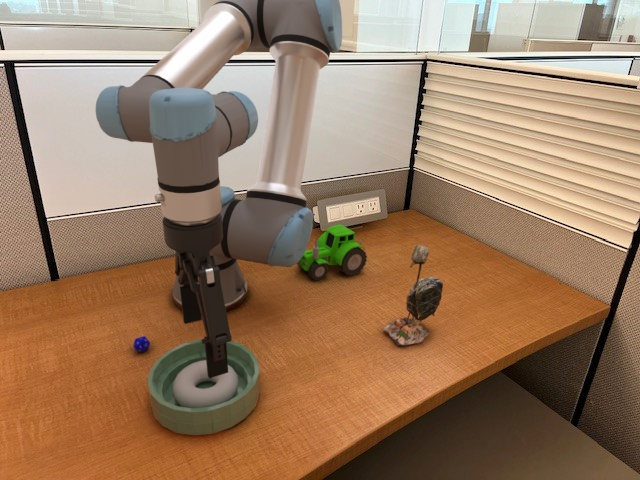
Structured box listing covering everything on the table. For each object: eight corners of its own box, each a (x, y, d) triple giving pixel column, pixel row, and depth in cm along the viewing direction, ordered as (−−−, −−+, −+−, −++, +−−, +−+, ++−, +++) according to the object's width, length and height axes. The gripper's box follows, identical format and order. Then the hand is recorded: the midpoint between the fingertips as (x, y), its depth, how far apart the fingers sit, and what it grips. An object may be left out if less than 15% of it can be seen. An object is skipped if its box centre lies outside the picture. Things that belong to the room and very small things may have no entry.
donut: (207, 428, 69) (252, 387, 76) (205, 410, 67) (251, 370, 75) (159, 399, 73) (206, 363, 81) (156, 382, 72) (204, 347, 79)
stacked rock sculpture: (448, 340, 91) (465, 245, 82) (394, 350, 87) (406, 252, 79) (426, 316, 98) (440, 226, 89) (375, 325, 94) (385, 232, 86)
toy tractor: (288, 267, 115) (289, 229, 110) (343, 252, 123) (346, 216, 119) (313, 287, 106) (315, 247, 102) (370, 270, 115) (374, 232, 110)
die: (143, 357, 83) (131, 346, 82) (140, 354, 85) (127, 343, 84) (155, 345, 84) (143, 334, 83) (151, 342, 86) (139, 331, 85)
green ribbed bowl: (142, 379, 78) (139, 354, 76) (239, 352, 85) (238, 329, 83) (163, 454, 65) (159, 427, 63) (275, 415, 72) (275, 389, 70)
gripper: (144, 187, 70) (161, 308, 80) (186, 262, 51) (202, 411, 60) (195, 181, 73) (206, 297, 83) (253, 249, 54) (258, 392, 63)
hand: (204, 345), depth 71 cm, fingers open, 13 cm apart
